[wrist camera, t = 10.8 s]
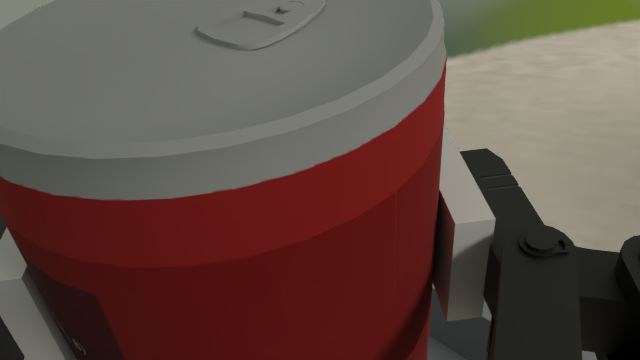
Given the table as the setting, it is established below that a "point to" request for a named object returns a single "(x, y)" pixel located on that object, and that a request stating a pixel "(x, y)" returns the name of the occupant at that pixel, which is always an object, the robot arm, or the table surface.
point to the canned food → (227, 174)
